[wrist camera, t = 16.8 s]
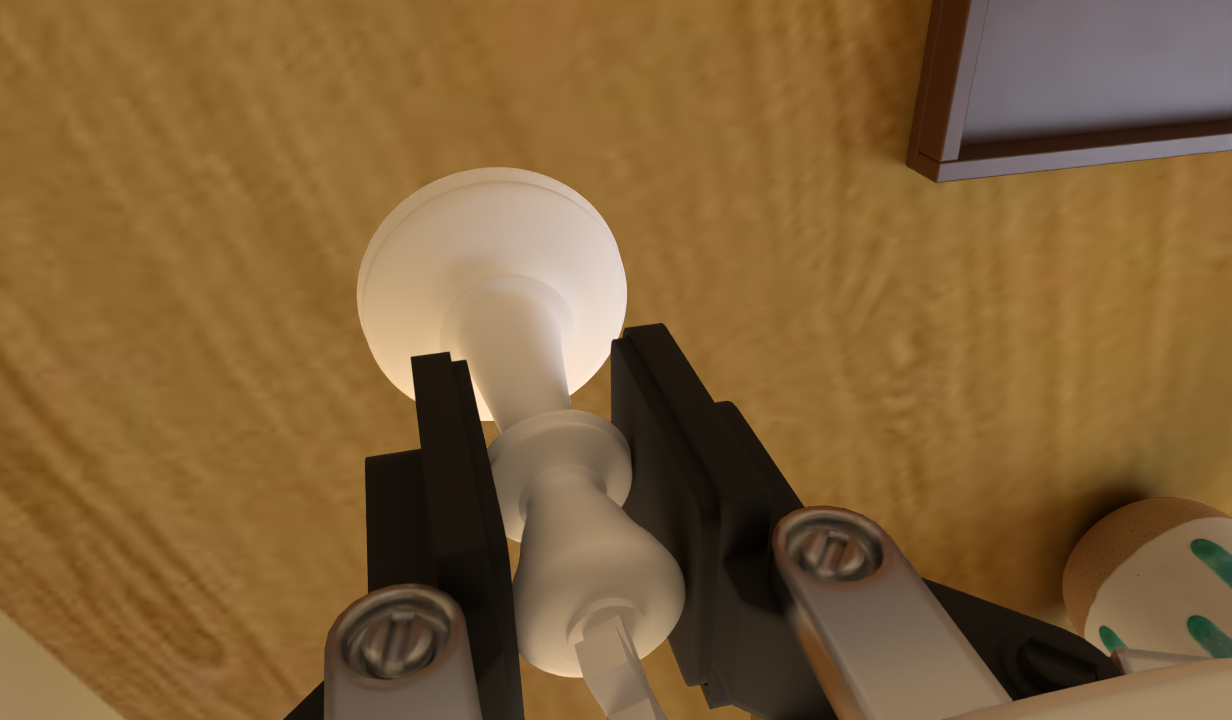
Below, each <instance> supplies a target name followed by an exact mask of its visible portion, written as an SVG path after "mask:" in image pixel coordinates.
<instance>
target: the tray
mask: <svg viewBox="0 0 1232 720" xmlns="http://www.w3.org/2000/svg"><path fill="white" fill-rule="evenodd" d="M1223 151H1232V0H933V6H932V12H931V18H930V24H929V31H928V37H927V43H926V49H925V55H924V61H923V67H922V73H921V79H920V85H919V91H918V97H917V103H916V109H915V115H914V121H913V127H912V133H911V139H910V145H909V151H908V157H907V163H906V166H907V167H909V168H910V169H912V170H915V171H916V172H917V173H919V174H921V175H923V176H924V177H926V178H928V179H930V180H931V181H933V182H935V183H940V182H949V181H958V180H967V179H976V178H986V177H995V176H1004V175H1013V174H1022V173H1031V172H1040V171H1049V170H1058V169H1068V168H1077V167H1086V166H1095V165H1104V164H1113V163H1122V162H1131V161H1141V160H1150V159H1159V158H1168V157H1177V156H1186V155H1195V154H1204V153H1213V152H1223Z"/></svg>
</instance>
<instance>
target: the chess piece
mask: <svg viewBox="0 0 1232 720" xmlns="http://www.w3.org/2000/svg"><path fill="white" fill-rule="evenodd" d="M626 303H627V285H626V277H625V272H624V267H623V264H622V261H621V258H620V254H619V250H618V247H617V244H616V241H615V239H614V237H613V235H612V233H611V231H610V229H609V227H608V226H607V224H606V222H605V221H604V219H603V218H602V217H601V215H600V214H599V213H598V212H597V210H596V209H595V208H594V207H593V206H592V205H591V204H590V203H589V202H588V201H587V200H586V199H585V198H583V197H582V196H581V195H580V194H578V193H577V192H576V191H574V190H573V189H571V188H570V187H568V186H566V185H565V184H563V183H561V182H559V181H557V180H555V179H553V178H550V177H548V176H545V175H542V174H539V173H535V172H532V171H527V170H522V169H516V168H505V167H490V168H479V169H472V170H467V171H462V172H459V173H455V174H452V175H449V176H446V177H443V178H441V179H438V180H436V181H434V182H432V183H430V184H428V185H426V186H424V187H422V188H421V189H419V190H418V191H416V192H415V193H413V194H412V195H410V196H409V197H408V198H406V199H405V200H404V201H403V202H401V203H400V204H399V205H398V206H397V207H396V208H395V209H394V210H393V211H392V212H391V213H390V214H389V215H388V216H387V217H386V218H385V220H384V221H383V222H382V224H381V225H380V226H379V228H378V229H377V231H376V232H375V234H374V235H373V237H372V239H371V241H370V243H369V245H368V247H367V249H366V252H365V254H364V257H363V260H362V263H361V267H360V271H359V276H358V284H357V306H358V312H359V317H360V322H361V325H362V328H363V331H364V334H365V336H366V339H367V342H368V345H369V347H370V350H371V352H372V354H373V356H374V358H375V360H376V362H377V363H378V365H379V367H380V368H381V370H382V371H383V372H384V374H385V375H386V376H387V377H388V378H389V380H390V381H391V382H392V383H393V384H394V385H395V386H396V387H397V388H398V389H400V390H401V391H402V392H403V393H404V394H406V395H407V396H408V397H410V398H411V399H413V400H414V401H415V392H414V384H413V375H412V367H411V358H410V357H411V356H419V355H426V354H434V353H441V352H450V355H451V360H452V361H459V360H467V363H468V368H469V372H470V377H471V381H472V385H473V390H474V394H475V399H476V403H477V408H478V412H479V417H480V421H495V423H496V425H497V427H498V429H499V431H500V433H501V434H500V435H499V436H498V437H497V438H496V439H495V440H494V441H493V442H492V444H491V445H490V446H489V447H488V449H487V452H488V457H489V461H490V466H491V470H492V475H493V479H494V483H495V488H496V492H497V497H498V501H499V506H500V510H501V515H502V519H503V524H504V528H505V534H506V537H508V538H510V539H512V540H514V541H517V542H520V543H521V547H520V559H519V563H518V568H517V571H516V573H515V576H514V579H513V583H512V591H513V601H514V612H515V623H516V633H517V644H518V652H519V653H520V654H521V655H522V656H523V657H524V658H525V659H526V660H527V661H528V662H529V663H531V664H532V665H534V666H535V667H537V668H539V669H541V670H543V671H546V672H548V673H552V674H555V675H559V676H565V677H583V678H584V681H585V683H586V685H587V686H588V688H589V689H590V691H591V693H592V694H593V696H594V697H595V699H596V701H597V702H598V704H599V705H600V707H601V709H602V710H603V712H604V713H605V715H606V717H607V719H608V720H667V718H666V716H665V714H664V712H663V711H662V709H661V707H660V705H659V703H658V701H657V700H656V698H655V696H654V694H653V692H652V691H651V689H650V687H649V685H648V682H647V679H646V676H645V674H644V671H643V668H642V665H641V663H640V660H641V659H642V658H644V657H645V656H647V655H648V654H649V653H651V652H652V651H653V650H654V649H655V648H657V647H658V646H659V645H660V644H661V643H662V642H663V641H664V640H665V639H666V638H667V636H668V635H669V634H670V633H671V631H672V630H673V628H674V627H675V625H676V623H677V622H678V620H679V618H680V615H681V613H682V610H683V607H684V603H685V596H686V588H685V580H684V577H683V574H682V571H681V569H680V567H679V565H678V563H677V561H676V560H675V559H674V557H673V556H672V555H671V553H670V552H669V551H668V550H667V549H666V548H665V547H664V546H663V545H662V544H661V543H660V542H659V541H658V540H657V539H656V538H655V537H654V536H653V535H652V534H650V533H649V532H648V531H647V530H645V529H644V528H642V527H640V526H639V525H637V524H636V523H635V522H634V521H633V520H632V519H631V518H630V517H629V516H628V515H627V514H626V513H625V511H624V510H623V509H622V508H621V507H622V506H623V504H624V502H625V501H626V499H627V497H628V494H629V491H630V488H631V484H632V461H631V450H630V447H629V444H628V442H627V440H626V438H625V437H624V435H623V434H622V433H621V432H620V431H619V429H618V428H617V427H615V426H614V425H613V424H612V423H611V422H609V421H608V420H606V419H604V418H602V417H600V416H598V415H595V414H593V413H589V412H585V411H580V410H572V406H571V401H570V395H571V394H573V393H574V392H575V391H577V390H578V389H579V388H580V387H582V386H583V385H584V384H585V383H586V382H587V381H588V380H589V379H590V378H591V377H592V376H593V375H594V374H595V373H596V372H597V371H598V370H599V368H600V367H601V366H602V365H603V363H604V362H605V360H606V359H607V357H608V356H609V354H610V353H611V342H612V340H613V339H618V337H619V334H620V331H621V328H622V325H623V321H624V317H625V312H626Z"/></svg>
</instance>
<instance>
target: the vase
mask: <svg viewBox="0 0 1232 720" xmlns="http://www.w3.org/2000/svg"><path fill="white" fill-rule="evenodd" d="M1062 593H1063V598H1064V602H1065V607H1066V610H1067V613H1068V615H1069V618H1070V620H1071V622H1072V623H1073V625H1074V627H1075V629H1076V630H1077V632H1078V634H1079V636H1080V637H1082V638H1084V639H1085V640H1087V641H1088V642H1090V643H1091V644H1092V645H1094V646H1095V647H1097V648H1098V649H1099V650H1101V651H1102V652H1103V653H1104V654H1105V655H1106V656H1109V657H1110V656H1111V653H1112V651H1113V649H1114V647H1120V648H1129V649H1138V650H1147V651H1156V652H1165V653H1174V654H1183V655H1192V656H1201V657H1210V658H1219V659H1224V658H1232V517H1230V516H1228V515H1226V514H1225V513H1223V512H1221V511H1218V510H1216V509H1214V508H1212V507H1210V506H1207V505H1204V504H1202V503H1199V502H1195V501H1192V500H1187V499H1181V498H1174V497H1154V498H1148V499H1143V500H1140V501H1137V502H1133V503H1130V504H1127V505H1125V506H1123V507H1121V508H1119V509H1117V510H1115V511H1113V512H1111V513H1110V514H1108V515H1107V516H1105V517H1104V518H1102V519H1101V520H1100V521H1098V522H1097V523H1096V524H1095V525H1093V526H1092V527H1091V528H1090V529H1089V530H1088V531H1087V532H1086V533H1085V534H1084V535H1083V537H1082V538H1081V539H1080V540H1079V541H1078V543H1077V544H1076V546H1075V547H1074V549H1073V550H1072V552H1071V554H1070V556H1069V558H1068V561H1067V564H1066V566H1065V569H1064V573H1063V590H1062Z"/></svg>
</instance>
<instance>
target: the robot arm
mask: <svg viewBox="0 0 1232 720" xmlns="http://www.w3.org/2000/svg"><path fill="white" fill-rule="evenodd" d="M410 358H411V367H412V375H413V384H414V392H415V401H416V409H417V418H418V426H419V435H420V443H421V449H416V450H410V451H403V452H397V453H390V454H384V455H378V456H371V457H366V459H365V486H366V526H367V566H368V594H367V595H365V596H363V597H361V598H360V599H358V600H356V601H354V602H353V603H352V604H351V605H350V606H349V607H348V608H346V609H345V610H344V611H343V612H342V613H341V614H340V615H339V616H338V617H337V619H336V621H335V622H334V624H333V625H332V627H331V629H330V630H329V632H328V636H327V641H326V645H325V655H324V681H323V682H322V683H321V684H320V685H318V686H317V687H316V688H315V689H314V690H313V691H312V692H311V693H310V694H309V695H308V696H307V697H306V698H305V699H304V700H303V701H302V702H301V703H300V704H299V705H298V706H297V707H296V708H295V709H294V710H293V711H292V712H291V713H289V714H288V715H287V716H286V717H285V718H284V719H283V720H525V719H524V708H523V697H522V687H521V676H520V665H519V655H518V644H517V633H516V623H515V612H514V601H513V591H512V580H511V570H510V560H509V552H508V546H507V539H506V534H505V528H504V524H503V519H502V515H501V510H500V506H499V501H498V497H497V492H496V488H495V483H494V479H493V475H492V470H491V466H490V461H489V457H488V452H487V448H486V443H485V439H484V434H483V430H482V426H481V421H480V417H479V412H478V408H477V403H476V399H475V394H474V390H473V385H472V381H471V377H470V372H469V368H468V363H467V360H459V361H452V360H451V355H450V352H441V353H434V354H426V355H419V356H411V357H410ZM611 423H612V424H613V425H614V426H615V427H617V428H618V429H619V431H620V432H621V433H622V434H623V435H624V437H625V438H626V440H627V442H628V444H629V447H630V450H631V461H632V484H631V488H630V491H629V494H628V497H627V499H626V501H625V502H624V504H623V506H622V507H621V508H622V509H623V510H624V511H625V513H626V514H627V515H628V516H629V517H630V518H631V519H632V520H633V521H634V522H635V523H636V524H637V525H639V526H640V527H642V528H644V529H645V530H647V531H648V532H649V533H650V534H652V535H653V536H654V537H655V538H656V539H657V540H658V541H659V542H660V543H661V544H662V545H663V546H664V547H665V548H666V549H667V550H668V551H669V552H670V553H671V555H672V556H673V557H674V559H675V560H676V561H677V563H678V565H679V567H680V569H681V571H682V574H683V577H684V580H685V588H686V596H685V603H684V607H683V610H682V613H681V615H680V618H679V620H678V622H677V623H676V625H675V627H674V628H673V630H672V631H671V633H670V634H669V635H668V636H667V638H668V640H669V643H670V645H671V648H672V650H673V653H674V655H675V658H676V661H677V663H678V666H679V668H680V671H681V673H682V676H683V678H684V680H685V682H686V684H687V685H688V686H689V687H691V686H695V685H700V686H701V688H702V691H703V693H704V696H705V698H706V701H707V703H708V706H709V708H710V709H713V708H718V707H722V706H726V705H730V704H732V705H734V706H736V707H738V708H740V709H742V710H744V711H747V712H749V713H751V720H1232V658H1224V659H1219V658H1210V657H1201V656H1192V655H1183V654H1174V653H1165V652H1156V651H1147V650H1138V649H1129V648H1120V647H1114V649H1113V651H1112V653H1111V656H1110V657H1109V656H1106V655H1105V654H1104V653H1103V652H1102V651H1101V650H1099V649H1098V648H1097V647H1095V646H1094V645H1092V644H1091V643H1090V642H1088V641H1087V640H1085V639H1084V638H1082V637H1080V636H1078V635H1075V634H1073V633H1071V632H1069V631H1067V630H1065V629H1062V628H1060V627H1057V626H1054V625H1051V624H1049V623H1046V622H1043V621H1040V620H1038V619H1035V618H1032V617H1029V616H1026V615H1024V614H1021V613H1018V612H1015V611H1013V610H1010V609H1007V608H1004V607H1002V606H999V605H996V604H993V603H991V602H988V601H985V600H982V599H980V598H977V597H974V596H971V595H968V594H966V593H963V592H960V591H957V590H955V589H952V588H949V587H946V586H944V585H941V584H938V583H935V582H933V581H930V580H927V579H924V578H922V577H920V576H919V575H918V573H917V572H916V571H915V569H914V568H913V567H912V565H911V564H910V562H909V561H908V560H907V558H906V557H905V556H904V554H903V553H902V552H901V550H900V549H899V548H898V546H897V545H896V544H895V542H894V541H893V540H892V538H891V537H890V536H889V535H888V534H887V533H886V532H885V531H884V530H883V529H882V528H881V527H880V526H879V525H878V524H877V523H875V522H874V521H872V520H870V519H869V518H867V517H865V516H864V515H862V514H859V513H856V512H854V511H851V510H848V509H845V508H839V507H832V506H809V507H804V506H803V504H802V503H801V501H800V500H799V498H798V497H797V495H796V494H795V492H794V491H793V490H792V488H791V487H790V485H789V484H788V482H787V481H786V479H785V478H784V476H783V475H782V473H781V472H780V470H779V469H778V467H777V466H776V464H775V463H774V461H773V460H772V458H771V457H770V456H769V454H768V453H767V451H766V450H765V448H764V447H763V445H762V444H761V442H760V441H759V439H758V438H757V436H756V435H755V433H754V432H753V430H752V429H751V427H750V426H749V424H748V423H747V422H746V420H745V419H744V417H743V416H742V414H741V413H740V411H739V410H738V408H737V407H736V406H735V405H734V404H733V403H732V402H730V401H722V402H716V403H715V402H714V401H713V399H712V398H711V396H710V395H709V393H708V392H707V390H706V388H705V387H704V385H703V384H702V382H701V381H700V379H699V378H698V376H697V374H696V373H695V371H694V370H693V368H692V367H691V365H690V364H689V362H688V360H687V359H686V357H685V356H684V354H683V353H682V351H681V350H680V348H679V346H678V345H677V343H676V342H675V340H674V339H673V337H672V336H671V334H670V332H669V331H668V329H667V328H666V326H665V325H664V324H663V323H658V324H651V325H643V326H636V327H628V328H625V329H624V331H623V338H620V339H613V340H612V342H611Z"/></svg>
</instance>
